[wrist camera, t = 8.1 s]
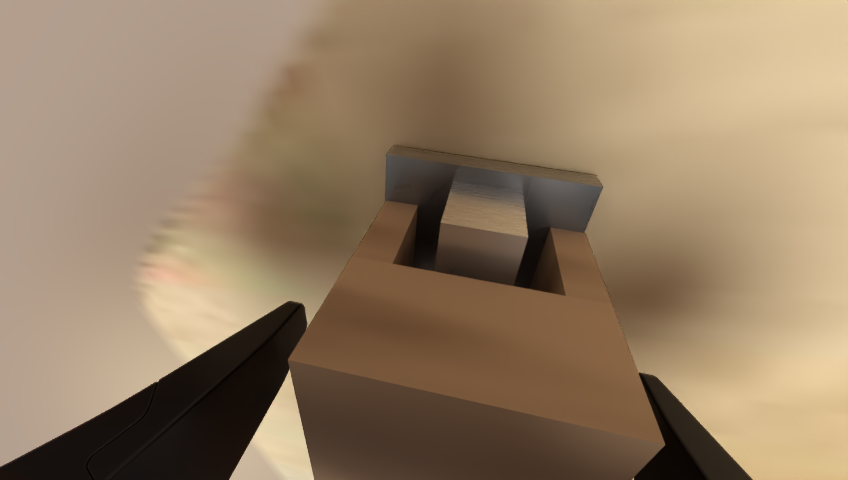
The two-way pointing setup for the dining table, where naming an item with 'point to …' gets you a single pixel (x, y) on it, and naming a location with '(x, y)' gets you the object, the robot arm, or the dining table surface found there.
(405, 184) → the rail
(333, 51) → the dining table surface
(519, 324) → the block
